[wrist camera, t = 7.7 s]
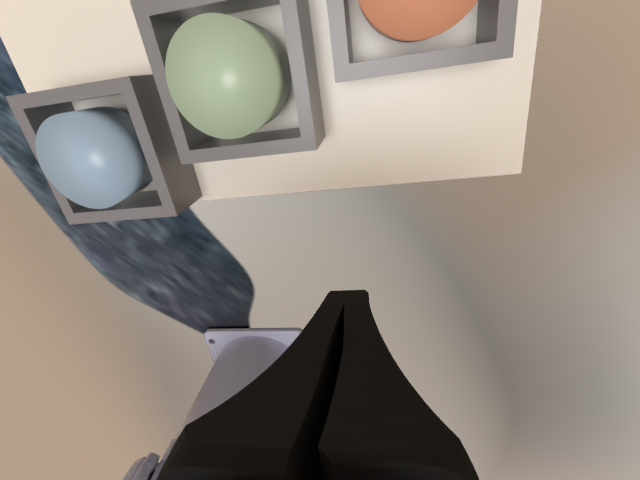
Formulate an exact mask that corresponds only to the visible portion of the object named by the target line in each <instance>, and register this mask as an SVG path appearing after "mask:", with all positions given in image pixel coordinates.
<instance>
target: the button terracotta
mask: <svg viewBox="0 0 640 480" xmlns="http://www.w3.org/2000/svg"><path fill="white" fill-rule="evenodd" d="M477 1H478V0H358V3H359V6H360V8H361V11H362V13H363V15H364V17H365V18H366V20H367V21H368V23H369V24H370V25H371V26H372V27H373V28H374V29H375V30H376V31H377V32H378V33H379V34H381V35H382V36H384V37H386V38H388V39H391V40H393V41H397V42H405V43H410V42H418V41H422V40H425V39H428V38H431V37H433V36H436V35H438V34H441V33H443V32H445V31H446V30H448V29H450V28H451V27H453V26H454V25H456V24H457V23H458V22H459V21H460V20H462V19H463V18H464V17H465V16H466V15H467V14H468V13H469V12H470V10H471V9H472V8H473V7H474V6H475V4H476V3H477Z"/></svg>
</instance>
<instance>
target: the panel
mask: <svg viewBox="0 0 640 480" xmlns="http://www.w3.org/2000/svg"><path fill="white" fill-rule="evenodd" d="M541 3H542V0H478V1H477V3H476V4H475V6H474V7H473V8H472V9H471V10H470V12H469V13H468V14H467V15H466V16H465V17H464V18H463V19H462V20H460V21H459V22H458V23H457V24H456V25H454V26H453V27H451V28H450V29H448V30H446V31H445V32H443V33H441V34H438V35H436V36H433V37H431V38H428V39H425V40H422V41H418V42H410V43H405V42H397V41H393V40H391V39H388V38H386V37H384V36H382V35H381V34H379V33H378V32H377V31H376V30H375V29H374V28H373V27H372V26H371V25H370V24H369V23H368V21H367V20H366V18H365V17H364V15H363V13H362V11H361V8H360V6H359V3H358V0H0V37H1V39H2V41H3V43H4V45H5V47H6V49H7V51H8V54H9V56H10V58H11V60H12V62H13V64H14V66H15V68H16V70H17V73H18V75H19V77H20V79H21V81H22V83H23V85H24V87H25V90H26V92H27V93H25V94H19V95H13V96H7V97H6V99H7V101H8V103H9V105H10V107H11V109H12V111H13V113H14V115H15V117H16V119H17V121H18V123H19V125H20V127H21V129H22V131H23V133H24V135H25V137H26V139H27V141H28V143H29V145H30V147H31V149H32V151H33V153H34V155H35V157H36V159H37V161H38V158H37V154H36V147H35V141H36V134H37V131H38V129H39V127H40V125H41V124H42V123H43V122H44V121H45V120H46V119H47V118H49V117H50V116H53V115H56V114H60V113H66V112H71V111H77V110H83V109H88V108H94V107H102V106H106V107H112V108H116V109H119V110H121V111H123V112H125V113H127V114H128V115H130V117H131V120H132V123H133V125H134V128H135V131H136V134H137V136H138V139H139V142H140V145H141V147H142V150H143V153H144V156H145V159H146V161H147V164H148V167H149V170H150V172H151V175H152V178H153V180H152V182H151V183H150V184H149V185H148V186H147V187H145V188H144V189H142V190H140V191H138V192H137V193H135V194H133V195H131V196H130V197H128V198H126V199H124V200H122V201H121V202H119V203H117V204H115V205H113V206H112V207H109V208H104V209H92V208H87V207H84V206H81V205H79V204H77V203H74V202H73V201H71V200H69V199H68V198H66V197H65V196H64V195H62V194H61V193H60V192H59V191H58V190H57V189H56V188H55V187H54V186H53V185H52V184H51V182H50V181H49V180H48V178H47V177H46V175H45V174H44V175H45V177H46V179H47V181H48V183H49V185H50V187H51V189H52V191H53V193H54V195H55V197H56V199H57V201H58V203H59V205H60V207H61V209H62V211H63V213H64V215H65V217H66V219H67V221H68V223H69V224H82V223H95V222H107V221H120V220H133V219H145V218H158V217H171V216H178V215H179V214H180V213H182V212H183V211H184V210H185V209H187V208H188V207H189V206H190V205H192V204H193V203H194V202H196V201H208V200H219V199H231V198H242V197H253V196H265V195H277V194H289V193H300V192H312V191H323V190H335V189H346V188H358V187H370V186H380V185H393V184H405V183H415V182H427V181H440V180H451V179H462V178H474V177H486V176H497V175H509V174H520V173H521V170H522V162H523V153H524V145H525V137H526V128H527V120H528V112H529V103H530V95H531V87H532V78H533V70H534V61H535V53H536V45H537V36H538V28H539V20H540V11H541ZM203 13H221V14H226V15H230V16H233V17H237V18H240V19H244V20H247V21H250V22H253V23H255V24H257V25H259V26H261V27H262V28H264V29H265V30H266V31H268V32H269V33H270V34H271V35H272V36H273V37H274V38H275V40H276V41H277V42H278V44H279V45H280V47H281V48H282V50H283V53H284V55H285V57H286V60H287V63H288V68H289V74H290V86H289V93H288V97H287V100H286V102H285V105H284V106H283V108H282V110H281V111H280V113H279V114H278V115H277V116H276V117H275V118H274V119H273V120H272V121H270V122H269V123H267V124H266V125H264V126H262V127H261V128H259V129H257V130H256V131H254V132H252V133H250V134H249V135H247V136H244V137H241V138H236V139H220V138H216V137H212V136H210V135H207V134H205V133H203V132H201V131H200V130H198V129H197V128H195V127H194V126H193V125H192V124H190V123H189V122H188V121H187V120H186V119H185V118H184V116H183V115H182V114H181V113H180V111H179V110H178V108H177V107H176V105H175V103H174V101H173V99H172V97H171V94H170V92H169V89H168V85H167V81H166V74H165V61H166V54H167V49H168V46H169V43H170V41H171V39H172V37H173V35H174V34H175V32H176V31H177V30H178V28H179V27H180V26H181V25H182V24H183V23H184V22H186V21H187V20H189V19H190V18H192V17H194V16H197V15H200V14H203ZM38 163H39V161H38ZM39 165H40V164H39ZM40 167H41V166H40ZM41 169H42V168H41ZM42 171H43V170H42ZM43 173H44V172H43Z"/></svg>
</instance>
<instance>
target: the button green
mask: <svg viewBox="0 0 640 480" xmlns="http://www.w3.org/2000/svg"><path fill="white" fill-rule="evenodd" d="M165 74H166V81H167V85H168V89H169V92H170V94H171V97H172V99H173V101H174V103H175V105H176V107H177V108H178V110H179V111H180V113H181V114H182V115H183V116H184V118H185V119H186V120H187V121H188V122H189V123H190V124H192V125H193V126H194V127H195V128H197V129H198V130H200V131H201V132H203V133H205V134H207V135H210V136H212V137H216V138H220V139H236V138H241V137H244V136H247V135H249V134H250V133H252V132H254V131H256V130H257V129H259V128H261V127H262V126H264V125H266V124H267V123H269V122H270V121H272V120H273V119H274V118H275V117H276V116H277V115H278V114H279V113H280V111H281V110H282V108H283V106H284V105H285V102H286V100H287V97H288V93H289V86H290V74H289V68H288V63H287V60H286V57H285V55H284V53H283V50H282V48H281V47H280V45H279V44H278V42H277V41H276V40H275V38H274V37H273V36H272V35H271V34H270V33H269V32H268V31H266V30H265V29H264V28H262V27H261V26H259V25H257V24H255V23H253V22H250V21H247V20H244V19H240V18H237V17H233V16H230V15H226V14H221V13H203V14H200V15H197V16H194V17H192V18H190V19H189V20H187V21H186V22H184V23H183V24H182V25H181V26H180V27H179V28H178V30H177V31H176V32H175V34H174V35H173V37H172V39H171V41H170V43H169V46H168V49H167V54H166V61H165Z"/></svg>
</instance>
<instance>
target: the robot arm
mask: <svg viewBox="0 0 640 480" xmlns="http://www.w3.org/2000/svg"><path fill="white" fill-rule="evenodd" d="M204 336H205V339H206V342H207V345H208V347H209V350H210V353H211V355H212V358H213V361H214V366H213V368H212V370H211V371H210V373H209V375H208V377H207V379H206V381H205V383H204V385H203V386H202V388H201V390H200V392H199V394H198V396H197V398H196V400H195V402H194V403H193V405H192V407H191V409H190V411H189V413H188V415H187V417H186V419H185V421H184V422H183V424H182V426H181V428H180V430H179V432H178V434H177V436H176V437H175V439H173V440H172V441H171V443H170V445H169V447H168V449H167V451H166V452H165V454H164V456H163V458H162V460H161V462H160V463H158V460H159V458H160V456H159V455H157V454H155V453H149V454H148V456H147V457H143V458H141V459H139V460H137V461H135V463H134V464H133V465H132V467H131V468H130V469H129V471H128V472H127V474H126V475H125V477H124V479H123V480H479V478H478V476H477V473H476V471H475V469H474V466H473V464H472V462H471V460H470V458H469V456H468V454H467V452H466V450H465V448H464V447H463V445H462V443H461V441H460V439H459V438H458V437H457V436H456V435H455V434H454V433H453V432H452V431H451V430H450V429H449V428H448V427H447V426H446V425H445V424H444V423H443V422H442V421H441V420H440V419H439V417H438V416H437V415H436V414H435V413H434V412H433V411H432V410H431V409H430V407H429V406H428V405H427V404H426V403H425V402H424V400H423V399H422V398H421V397H420V395H419V394H418V393H417V392H416V390H415V389H414V388H413V386H412V385H411V384H410V383H409V381H408V380H407V378H406V377H405V376H404V374H403V373H402V371H401V370H400V368H399V367H398V365H397V363H396V362H395V360H394V359H393V357H392V356H391V354H390V352H389V350H388V348H387V346H386V344H385V343H384V341H383V339H382V337H381V335H380V332H379V330H378V328H377V325H376V323H375V320H374V318H373V315H372V312H371V309H370V305H369V295H368V292H367V291H366V290H348V291H330V292H329V293H328V294H327V296H326V298H325V299H324V301H323V302H322V304H321V305H320V307H319V309H318V310H317V311H316V313H315V314H314V316H313V317H312V319H311V320H310V321H309V323H308V324H307V325H306V327H305V328H304V329H303V330H302V329H300V328H233V329H208V330H206V332H205V334H204ZM212 339H213V340H212Z"/></svg>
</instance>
